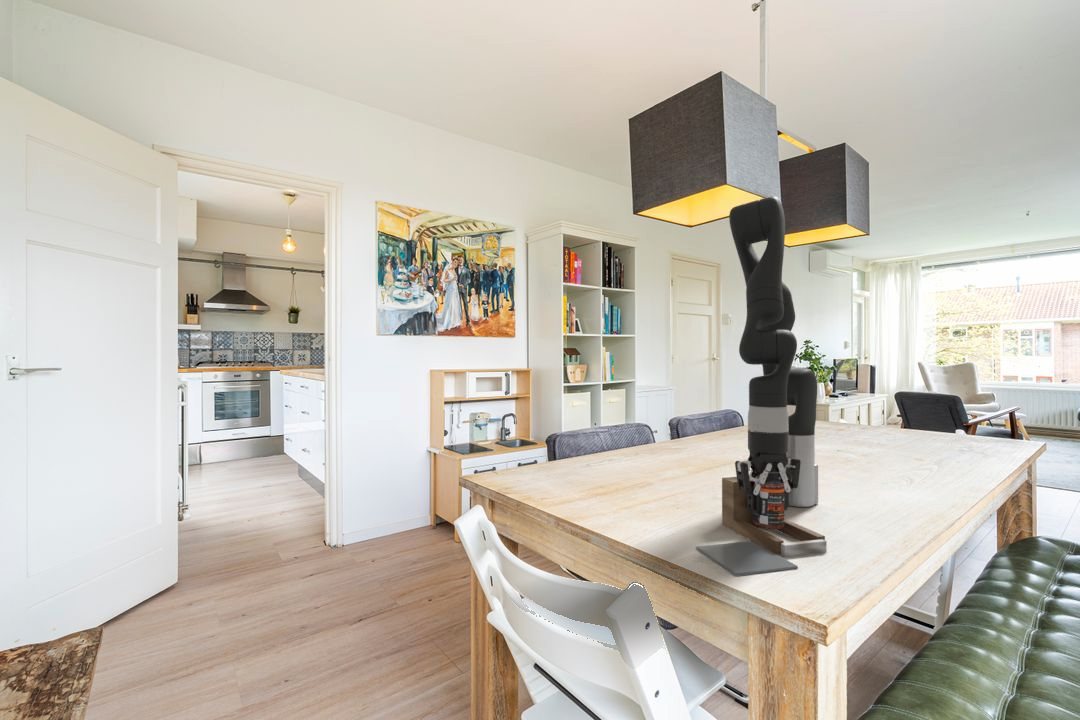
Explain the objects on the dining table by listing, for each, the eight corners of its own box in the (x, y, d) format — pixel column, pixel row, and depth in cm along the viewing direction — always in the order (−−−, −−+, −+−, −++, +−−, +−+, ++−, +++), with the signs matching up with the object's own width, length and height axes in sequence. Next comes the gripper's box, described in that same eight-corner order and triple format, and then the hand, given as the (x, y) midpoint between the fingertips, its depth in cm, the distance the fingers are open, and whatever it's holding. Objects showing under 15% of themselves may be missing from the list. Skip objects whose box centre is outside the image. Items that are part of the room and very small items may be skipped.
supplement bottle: (769, 532, 96) (769, 474, 96) (745, 523, 101) (745, 468, 101) (791, 528, 98) (791, 471, 98) (766, 519, 104) (766, 465, 104)
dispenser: (763, 520, 109) (763, 475, 109) (830, 551, 91) (830, 497, 91) (720, 524, 106) (720, 478, 106) (781, 557, 88) (780, 501, 88)
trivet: (751, 542, 95) (751, 540, 95) (797, 568, 84) (797, 566, 84) (696, 548, 92) (696, 546, 92) (736, 575, 81) (736, 573, 81)
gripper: (784, 424, 105) (784, 502, 105) (725, 427, 102) (725, 508, 102) (811, 429, 98) (812, 513, 98) (749, 432, 94) (749, 519, 94)
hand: (768, 510), depth 100 cm, fingers closed on supplement bottle, 6 cm apart
